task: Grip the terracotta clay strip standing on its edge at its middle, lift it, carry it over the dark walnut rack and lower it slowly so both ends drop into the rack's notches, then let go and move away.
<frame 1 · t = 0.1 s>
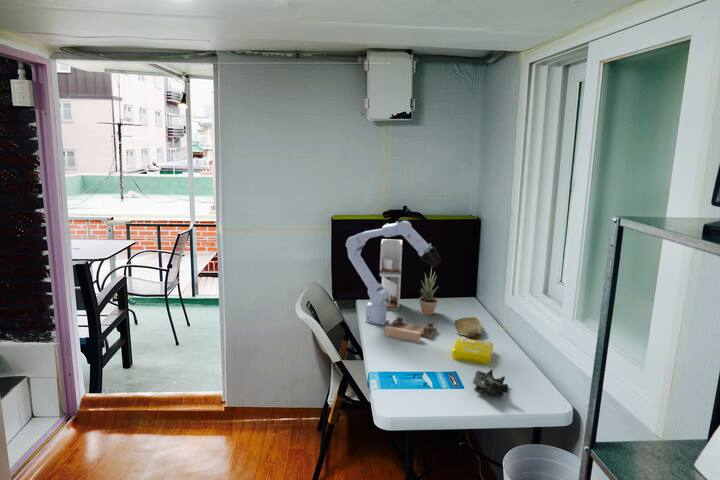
hand: (438, 264, 223), 32 cm above the table, tool tilted 50°, fingers open, 7 cm apart
clay strip: (402, 338, 221), on the table
potted plant: (427, 313, 254), on the table
display case: (389, 306, 262), on the table
mineral specimen: (491, 392, 175), on the table
strip rack: (412, 330, 229), on the table
stone tool: (468, 332, 231), on the table
element tile: (472, 356, 205), on the table
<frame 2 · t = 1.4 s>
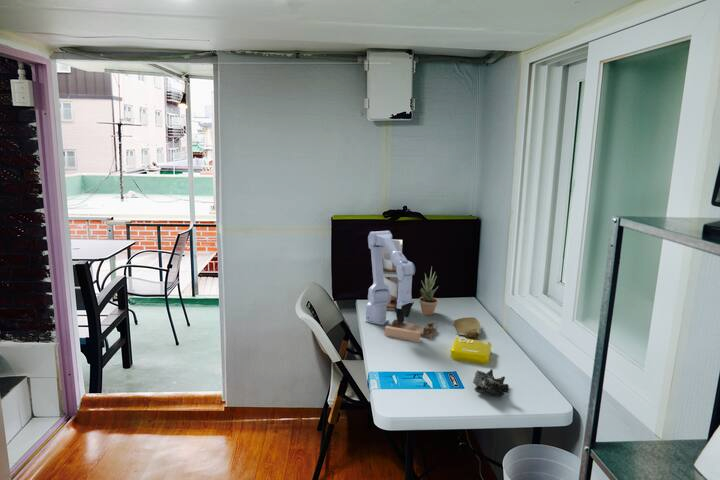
hand: (403, 319, 219), 8 cm above the table, tool pointing down, fingers open, 7 cm apart
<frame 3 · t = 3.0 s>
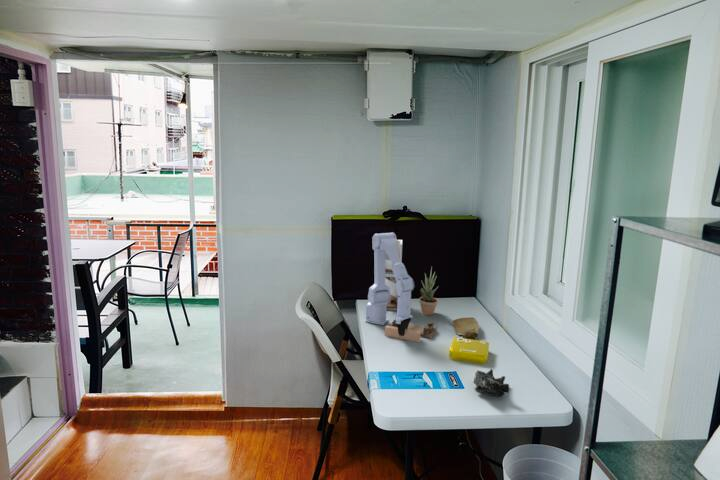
hand: (402, 334, 220), 2 cm above the table, tool pointing down, fingers closed on clay strip, 2 cm apart
clay strip: (402, 337, 221), on the table, touching gripper
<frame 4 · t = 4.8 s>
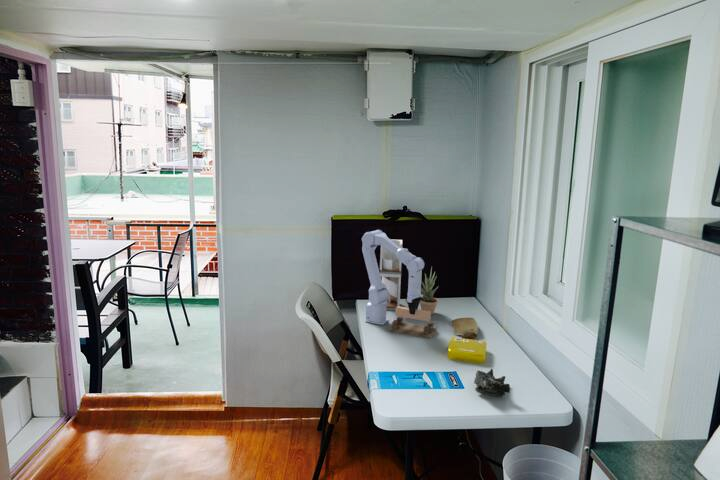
hand: (413, 313, 227), 9 cm above the table, tool pointing down, fingers closed on clay strip, 2 cm apart
clay strip: (412, 317, 228), point 6 cm above the table, touching gripper
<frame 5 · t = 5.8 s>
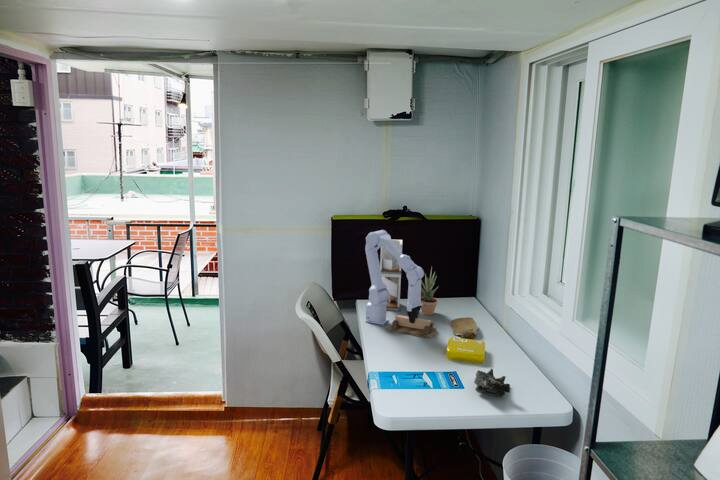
hand: (413, 321, 228), 4 cm above the table, tool pointing down, fingers closed on clay strip, 2 cm apart
clay strip: (412, 326, 229), point 2 cm above the table, touching gripper
when the fingers open (4 cm above the table, at t = 6.6 s): clay strip stays where it is, resting on strip rack.
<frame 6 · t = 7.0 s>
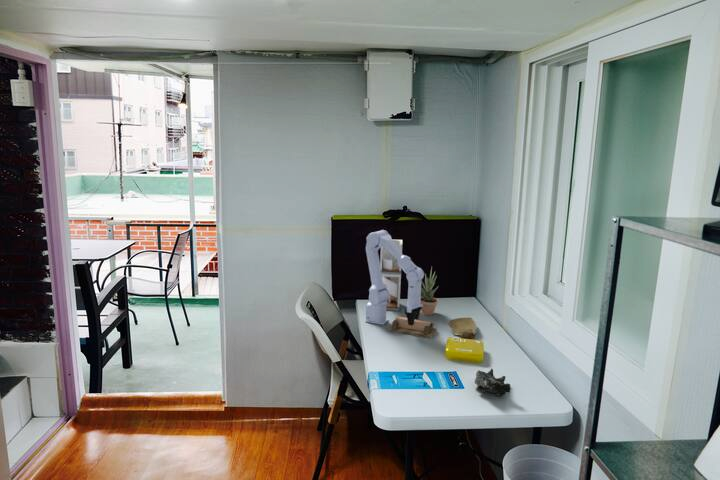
hand: (412, 322, 228), 4 cm above the table, tool pointing down, fingers open, 6 cm apart
clay strip: (412, 328, 229), point 1 cm above the table, touching strip rack
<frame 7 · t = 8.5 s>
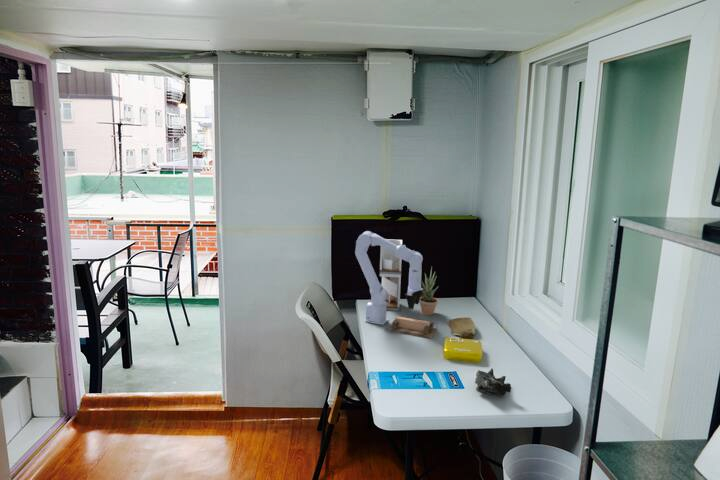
hand: (413, 306, 235), 9 cm above the table, tool pointing down, fingers open, 7 cm apart
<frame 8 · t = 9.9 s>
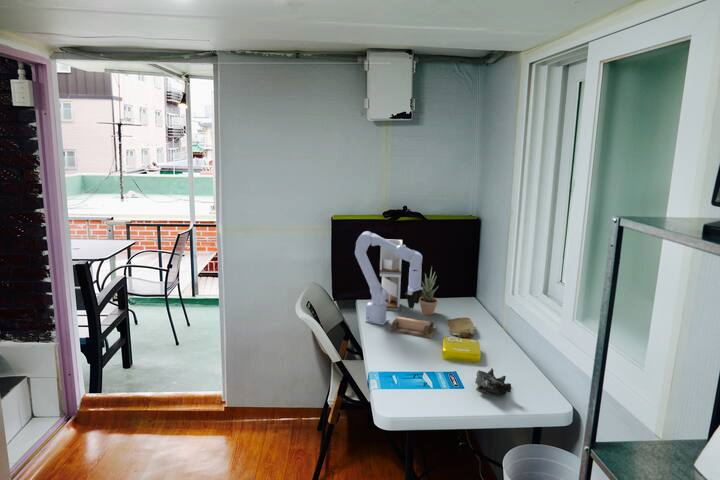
hand: (413, 305, 235), 9 cm above the table, tool pointing down, fingers open, 7 cm apart
at the end: clay strip 0.1 cm off-centre on the strip rack, point 1.2 cm above the strip rack's base; clay strip tilted 0°; the gripper is holding nothing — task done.
